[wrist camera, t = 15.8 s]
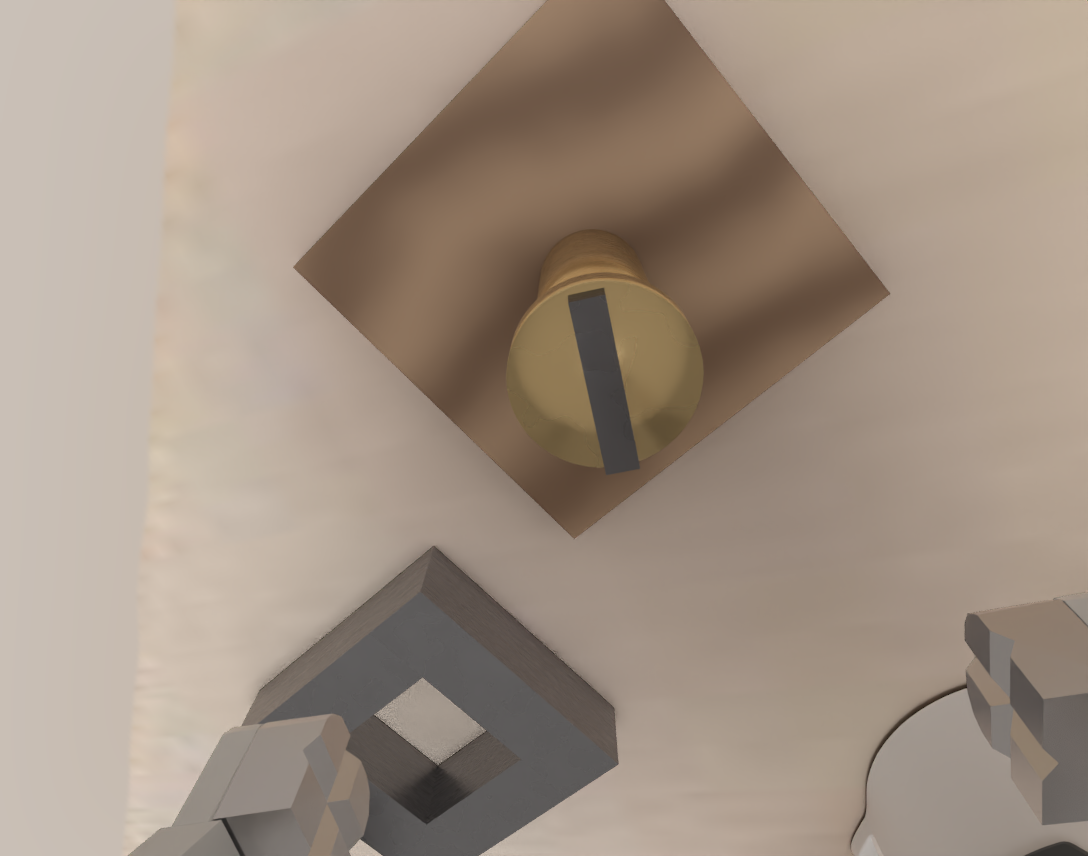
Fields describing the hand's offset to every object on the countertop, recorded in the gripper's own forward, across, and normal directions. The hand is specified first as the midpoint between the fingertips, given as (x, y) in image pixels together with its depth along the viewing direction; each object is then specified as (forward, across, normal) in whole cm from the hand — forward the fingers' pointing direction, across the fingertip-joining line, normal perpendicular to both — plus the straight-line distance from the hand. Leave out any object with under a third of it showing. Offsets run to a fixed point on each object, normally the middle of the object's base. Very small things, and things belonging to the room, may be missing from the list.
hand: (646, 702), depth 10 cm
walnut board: (+26, 0, 0) cm, 26 cm away
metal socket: (+26, +13, +21) cm, 36 cm away
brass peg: (+25, 0, 0) cm, 25 cm away
